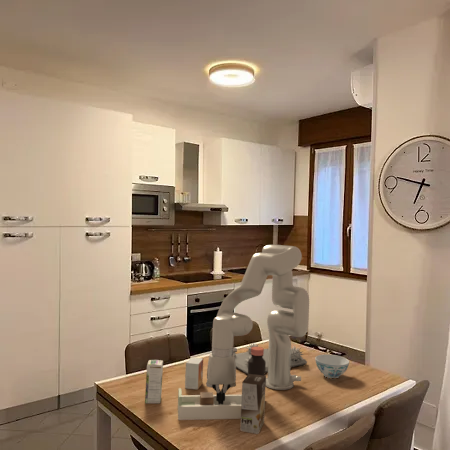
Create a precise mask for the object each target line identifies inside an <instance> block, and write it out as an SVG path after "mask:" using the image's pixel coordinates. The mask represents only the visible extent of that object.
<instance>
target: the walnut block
mask: <svg viewBox="0 0 450 450" xmlns="http://www.w3.org/2000/svg"><path fill="white" fill-rule="evenodd" d="M213 393H214V392H212V391H211V392H210V391H209V392H201V391H200V392H199V395H200V405H213V404H214V396H213V395H214V394H213Z"/></svg>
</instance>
